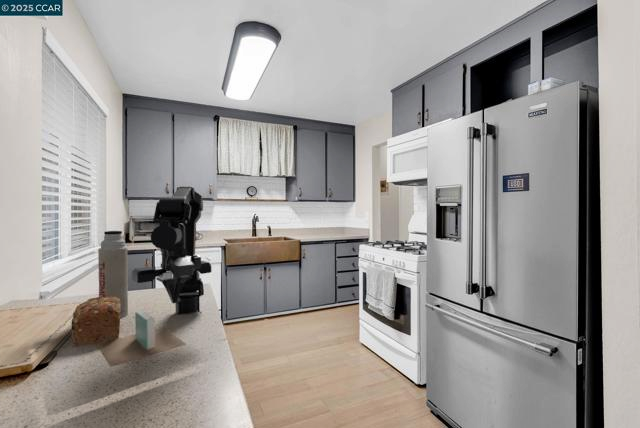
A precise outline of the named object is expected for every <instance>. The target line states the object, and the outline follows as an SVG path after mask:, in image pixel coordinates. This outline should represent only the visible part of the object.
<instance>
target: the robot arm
mask: <svg viewBox="0 0 640 428" xmlns="http://www.w3.org/2000/svg"><path fill="white" fill-rule="evenodd" d="M154 210H155V211H154V215H153V219H152V223H153V225H154V224H155V225H157V224H159V225H158V226H156V227H154V229H153V230H152V231H151V234H150V242H151V243H152V245H153V246H155V248H157V249H159V250H160V253H161V263H160V268H157V269H155V268H152V267H150V266H147V267H139V268H134V269H133V270H132V271H131V280H132V281H134V282H136V283H138V284H141V283H142V284H143V283H150V282H154V280H155V279H156V280H157V281H159V282H161V283H162V285H163V286H164V288H165V290H166V292H167V294H168V297H169V299H170V301H171V304H175V313H176V315H184V314H185V315H187V314H194V313H196V312H198V313H200V314H203V312H202V311H200V310H201V309H200V305H201V304H200V298H201V297H203V296H204V295H205V293H204V292H205V289H204V283H203V281H202V278H201V277H200V275H203V274H210V273H212V264H211V263H210V262H209V261H205V260H202V256H201V255H200V254H196V235H197V234H196V233H197V232H196V231H197V223H198V222H199V220H200V219H201V218H202V217H201V216H202V212H204V201H203V197H202V195H201V194H199V192H197V191H196V190H195V188H194V187H192V186H178V187H176V190H175V192H173V194H172V195H170V196H163V197H160V198H159V200H158V201H157V202H156V204H155V209H154Z"/></svg>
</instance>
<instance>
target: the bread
mask: <svg viewBox="0 0 640 428" xmlns="http://www.w3.org/2000/svg"><path fill="white" fill-rule="evenodd" d="M120 309H121V306H120V299H119V298H118V297H99V296H98V297H92V298H89V299H87V300H86V301H84V302H82V303H80V304H78V305H77V306H76V307H75V309H74V311H73V313H72V319H71V338H72V343H73V347H80V346H84V345H89V344H94V343H102V342H106V341H110V340H115V339H119V338H120V330H121V329H120V328H121V318H120V311H121V310H120Z"/></svg>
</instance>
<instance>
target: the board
mask: <svg viewBox="0 0 640 428" xmlns="http://www.w3.org/2000/svg"><path fill="white" fill-rule="evenodd" d="M185 345H187V343H186V342H184V341H183V340H182V339H181V338H179V337H178V336H177V335H175V334H173V333H172V331H170V330H168V329H167V328H166V327H165V326H164V327H160V328H155V347H154V348H151V349H147V350H146V349H145V348H144V347H143V346H142V345H141V344H140V343H139V342H138V341H137V340H136V333H135V334H131V335H128V336H123V337H118V338H117V339H112V340H106V341H101V342H97V343H96V346H97V348H98V349H99V351H100V352H101V354H102V355H103V358H105V360H106V361H107V363H108V365H109V366H110V367H114V366H118V365H120V364H121V365H122V364H124V363H127V362H131V361H134V360H137V359H141V358H145V357H148V356H151V355H155V354H157V353H161V352H165V351H168V350H171V349H174V348H177V347H181V346H185Z"/></svg>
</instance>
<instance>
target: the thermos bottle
mask: <svg viewBox="0 0 640 428" xmlns="http://www.w3.org/2000/svg"><path fill="white" fill-rule="evenodd" d="M103 234H104V236H103V240H102V241H101V242H100V244H99V245H100V248H98V258H97V259H98V297H118V298H119V299H120V306H121V309H120V310H121V311H120V319H121V318H124V317H127V316H128V315H129V293H128V289H129V288H128V286H129V285H128V283H129V282H128V281H129V280H128V279H129V277H128V275H129V273H128V270H129V269H128V262H129V261H128V247H127V246H126V243H125V242H126V240H124V239H123V235H122V234H123V231H121V230H107V231H104V233H103Z"/></svg>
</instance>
